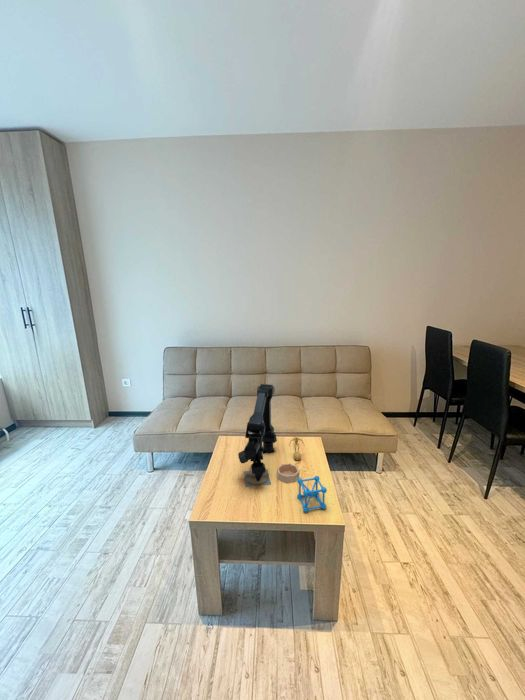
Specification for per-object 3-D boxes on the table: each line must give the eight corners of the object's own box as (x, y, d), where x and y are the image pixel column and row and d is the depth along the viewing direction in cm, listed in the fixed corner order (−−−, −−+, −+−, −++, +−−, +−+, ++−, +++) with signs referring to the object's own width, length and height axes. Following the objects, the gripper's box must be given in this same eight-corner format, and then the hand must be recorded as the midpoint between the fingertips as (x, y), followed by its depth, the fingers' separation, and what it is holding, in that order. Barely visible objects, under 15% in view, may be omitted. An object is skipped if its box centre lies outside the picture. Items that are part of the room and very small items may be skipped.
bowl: (276, 471, 149) (276, 464, 148) (295, 470, 150) (295, 462, 150) (279, 484, 140) (279, 477, 139) (300, 482, 141) (300, 475, 140)
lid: (244, 471, 149) (244, 462, 148) (266, 469, 150) (266, 460, 149) (246, 486, 138) (246, 476, 137) (270, 484, 139) (269, 474, 138)
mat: (243, 472, 149) (243, 471, 149) (267, 470, 151) (267, 469, 151) (245, 488, 138) (245, 487, 138) (271, 485, 139) (271, 484, 139)
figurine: (290, 462, 157) (290, 441, 155) (288, 455, 163) (288, 435, 161) (305, 461, 158) (306, 440, 156) (303, 454, 164) (303, 434, 161)
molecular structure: (327, 510, 124) (327, 488, 121) (303, 514, 122) (304, 492, 119) (317, 494, 133) (318, 474, 131) (296, 497, 131) (296, 477, 129)
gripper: (238, 437, 149) (239, 465, 152) (240, 458, 130) (241, 489, 134) (260, 435, 150) (260, 463, 153) (265, 455, 132) (266, 487, 135)
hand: (256, 475), depth 144 cm, fingers open, 9 cm apart
